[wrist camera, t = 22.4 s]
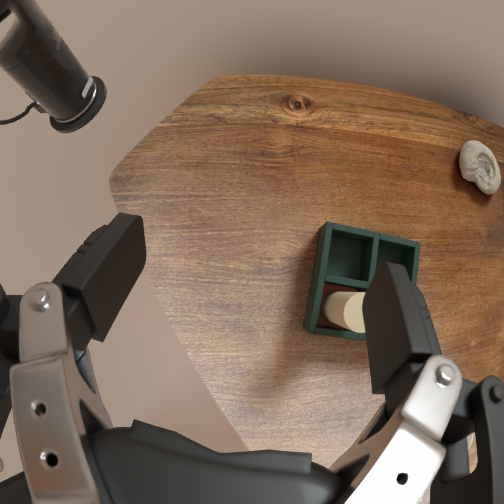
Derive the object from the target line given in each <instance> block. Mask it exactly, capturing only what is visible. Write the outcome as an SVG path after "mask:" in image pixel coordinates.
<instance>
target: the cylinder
mask: <svg viewBox="0 0 504 504" xmlns="http://www.w3.org/2000/svg"><path fill="white" fill-rule="evenodd" d="M365 293H366V292H331V293H329V294H327V295H326V296H325V297H324V298H323V300H322V302H321V313H322V315H323V317H324V318H325V319H326V320H328V321H330V322H332V323H335V324H337V325H339V326H342V327H344V328H346V329H349V330H351V331H354V332H356V333H365V327H364V320H363V314H362V303H363V298H364V295H365Z"/></svg>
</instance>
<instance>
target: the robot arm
mask: <svg viewBox="0 0 504 504" xmlns="http://www.w3.org/2000/svg"><path fill="white" fill-rule="evenodd" d="M12 13H13V14H14V15H15V19H14V21H13V23H12V25H11V27H10V29H9V30H8V32H7V33H6V35H5V36H4V38H3V39H2V41H1V42H0V67H1V68H2V69H3V70H4V71H5V72H6V73H7V74H8V75H9V76H10V77H11V78H12V79H13V80H14V81H16V82H17V83H18V84H19V85H20V86H21V87H22V88H23V89H24V90H25V93H26V94H27V95H28V96H29V97H30V98H31V99H33V100H34V101H35V102H33V103H31V104H30V105H29V106H28V107H27V108H26V110H25V112H23V113H22V114H20V115H18V116H16V117H14V118H11V119H8V120H3V121H1V120H0V125H4V124H9V123H12V122H15V121H17V120H19V119H21V118H22V117H24V116H25V115H27V114H28V112H29V111H30V109H31V108H32V107H34V106H35V107H34V108H35V109H37V110H38V111H39V112H40V113H48V114H49V115H50V116H51V117H52V118H54V119H55V120H56V121H57V122H58V123H60V124H70V123H72V122H75V121H76V120H78V119H80V118H81V117H82V116H84V115H85V114H86V113H87V112H88V111H89V110H90V108H91V107H92V106H93V104H94V102H95V100H96V98H97V95H98V87H97V85H96V84H95V82H94V81H93V78H92V77H91V76H89V75H88V74H87V72H86V71H85V69H84V68H83V67H82V65H81V64H80V62H79V61H78V60H77V58H76V57H75V56H74V54H73V53H72V51H71V50H70V49H69V47H68V46H67V44H66V43H65V42H64V40H63V39H62V37H61V36H60V35H59V33H58V32H57V30H56V29H55V27H54V26H53V25H52V23H51V22H50V20H49V19H48V18H47V16H46V15H45V13H44V12H43V11H42V9H41V8H40V6H39V5H38V3H37V2H36V0H0V23H1V22H2V21H3V20H4V19H6V18H7V17H8V16H9V15H10V14H12ZM145 262H146V245H145V236H144V226H143V219H142V217H141V216H138V215H132V214H126V213H119V214H118V215H116V217H115V218H114V219H113V220H112V221H111V222H110V223H109V225H103V226H102V227H100V228H99V229H97V230H96V231H94V232H92V233H91V234H90V236H89V237H88V238H87V239H86V240H85V241H84V244H83V245H81V246H80V247H79V248H78V249H77V252H75V253H74V254H73V255H72V257H71V258H70V259H69V260H68V262H67V263H66V264H65V265H64V267H63V268H62V269H61V270H60V272H59V273H58V274H57V275H56V277H55V278H54V279H53V281H52V282H43V283H39V284H36V285H34V286H32V287H31V288H30V289H28V290H27V291H26V292H25V294H24V295H6V293H5V291H4V289H3V287H2V286H1V284H0V438H1V435H2V432H3V429H4V427H5V424H6V421H7V418H8V416H9V413H10V411H11V408H12V410H13V418H14V424H15V431H16V436H17V442H18V447H19V452H20V457H21V461H22V465H23V469H24V471H23V472H21V473H19V474H17V475H15V476H12V477H11V478H8V479H6V480H4V481H2V482H0V504H420V502H421V500H422V499H423V497H424V495H425V493H426V492H427V490H428V488H429V486H430V504H504V383H503V382H502V381H501V380H500V379H499V378H498V377H496V376H493V375H490V376H487V377H486V378H484V379H483V380H482V381H481V382H480V383H479V384H478V383H475V382H472V381H469V380H467V379H464V378H462V375H461V372H460V370H459V368H458V367H457V365H456V364H455V363H454V362H453V361H452V360H451V359H449V358H448V357H446V356H443V355H442V352H441V349H440V345H439V342H438V339H437V335H436V332H435V329H434V326H433V322H432V319H430V317H431V316H430V313H429V310H428V309H427V305H426V302H425V299H424V296H423V294H422V292H421V291H420V290H419V288H418V287H417V286H416V284H415V283H414V282H411V281H410V278H409V276H408V273H407V270H406V268H405V266H404V265H400V264H395V263H390V262H385V261H383V262H382V263H381V264H380V265H379V267H378V269H377V271H376V273H375V275H374V277H373V279H372V281H371V283H370V285H369V287H368V289H367V291H366V293H365V295H364V298H363V303H362V314H363V320H364V327H365V334H366V341H367V348H368V356H369V365H370V374H371V384H372V394H385V402H383V403H382V405H381V406H380V407H379V409H378V410H377V412H376V413H375V415H374V416H373V418H372V419H371V421H370V422H369V423H368V425H367V426H366V428H365V429H364V430H363V432H362V433H361V434H360V436H359V437H358V438H357V440H356V441H355V442H354V444H353V445H352V446H351V447H350V448H349V449H348V450H347V451H346V452H345V453H344V454H343V455H341V456H340V457H339V458H338V459H337V460H336V461H335V462H334V463H333V465H332V466H331V467H330V468H329V469H327V468H325V467H324V466H321V465H319V464H317V463H314V462H311V460H312V453H301V452H288V451H278V450H269V449H268V450H259V451H248V452H235V453H219V452H216V451H213V450H211V449H209V448H207V447H205V446H202V445H201V444H198V443H197V442H195V441H193V440H191V439H189V438H186V437H185V436H183V435H181V434H179V433H177V432H175V431H171V430H167V429H164V428H160V427H157V426H154V425H151V424H147V423H144V422H141V421H138V420H135V419H134V420H133V423H132V426H131V427H116V428H113V425H112V423H111V420H110V417H109V415H108V413H107V411H106V409H105V407H104V405H103V402H102V400H101V397H100V394H99V390H98V387H97V383H96V379H95V375H94V371H93V367H92V362H91V358H90V353H89V349H88V347H87V345H88V343H89V341H90V340H91V338H92V339H94V340H97V341H100V342H103V341H104V339H105V337H106V335H107V334H108V331H109V330H110V328H111V326H112V324H113V322H114V320H115V318H116V317H117V315H118V313H119V311H120V309H121V307H122V305H123V304H124V302H125V300H126V298H127V297H128V295H129V293H130V291H131V289H132V288H133V286H134V284H135V282H136V281H137V279H138V277H139V275H140V274H141V272H142V270H143V268H144V266H145ZM474 432H475V436H476V445H477V457H478V462H477V466H476V468H475V470H474V471H473V472H472V473H471V474H470V472H469V456H468V444H467V436H469V435H471V434H472V433H474ZM3 468H4V466H3V461H2V459H1V458H0V472H1V471H2V470H3Z"/></svg>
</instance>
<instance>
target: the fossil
mask: <svg viewBox="0 0 504 504" xmlns="http://www.w3.org/2000/svg"><path fill="white" fill-rule="evenodd" d="M459 158H460V159H459V165H460V170H461V174H462V177H463V178H464V179H466V180H468V181H473V182H475V183H476V185H477V186H478V188H479V189H480V190H481V191H483V192H484V193H486V194H493V193H495V192H496V191H497V190H498V188H499V186H500V181H501V176H500V170H499V167H498V163H497V161H496V159H495V157H494V155H493V154H492V152H491V151H490V150H489V149H488V148H487V147H486V146H485V145H484V144H482V143H480V142H478V141H469V142H467V143H465V144H464V145H463V147H462V148H461V151H460V156H459Z"/></svg>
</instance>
